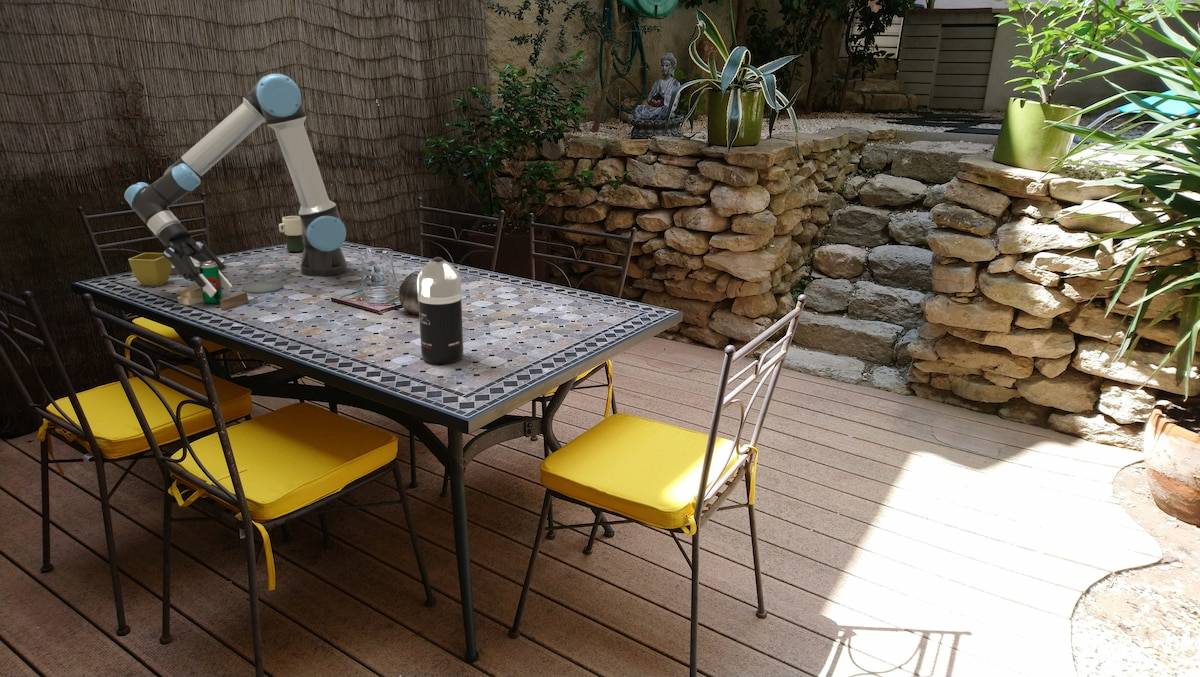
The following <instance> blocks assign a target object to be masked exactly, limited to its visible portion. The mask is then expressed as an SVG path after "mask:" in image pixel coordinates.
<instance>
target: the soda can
mask: <svg viewBox="0 0 1200 677" xmlns="http://www.w3.org/2000/svg"><path fill="white" fill-rule="evenodd" d="M199 264H200V265H199V267H198V269H199V275H200V274H203V275H204V277H205V278H206V279H207V280H208V281H209V282H210V284H211V285H212V286H213V287H214V288H215V289H216V291H217V292H216V293H215V294H214V296H213V297H210V296H209V295H208V294H207V293H206V291H205V290H204V289H203V288H202V294H203V300H204V301H203V303H204V304H206V305H209V306H212V305H214V306H215V305H218V304H220V300H221V299H224V297H223V291H222V290H223V288H222V286H221V283H220V276H219V269H218V265H217V264H216V262H215V261H204V262H200V263H199Z"/></svg>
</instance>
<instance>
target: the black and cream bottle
mask: <svg viewBox="0 0 1200 677" xmlns="http://www.w3.org/2000/svg"><path fill="white" fill-rule="evenodd" d="M416 284H417V285H416V286H417V287H416V288H417V301H418V302H417V303H418V317H419V332H420V333H419V334H420V335H419V336H420V352H421V357H422V359H423V360H424V361H425V362H427V363H430V364H434V365H447V364H452V363H456V362H458V361H459V360H461V359H462V357H463V356H464V335H463V334H464V333H463V330H464V329H463V311H462V310H463V309H462V308H463V307H462V305H463V304H462V299H463V295H462V294H463V293H462V280H461V276H460V274H459V272H458V270H457V269H456V268H455V267H454V266H453V265H452V264H451V263H449V262H448V261H447V260H445V259H443V257H441V256H435V257H434V258H432V259H431V260H430V261H429V262H427V263H426V264H425V265H424V266H423V267H422V268H421V269H420V271H419V273H418V275H417V278H416Z"/></svg>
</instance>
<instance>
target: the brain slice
mask: <svg viewBox="0 0 1200 677" xmlns="http://www.w3.org/2000/svg"><path fill="white" fill-rule="evenodd" d="M216 257H217V258H218V259H219V260H220V261H221V262H222V263H223V265H224V264H225V259H224V258H223V257H221V256H216ZM190 258H191V260H192V262H193V264H194V265H195V267H196V269H197V271H198V273H199V269H198V267H199V265H200V264H199V263H200V262H199V261H197V260H196V259H193V258H192V257H191V256H190ZM175 274H179V275H181V274H180V273H179V271H178V270H177V269H176V268H175V267H174V265H173V264H172V268H171V274H170V275H171V276H176V275H175Z"/></svg>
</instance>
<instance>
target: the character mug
mask: <svg viewBox="0 0 1200 677" xmlns="http://www.w3.org/2000/svg"><path fill="white" fill-rule="evenodd" d="M281 222H282V223H279V224H278V231H279V233H283V234H284V235H286V236H287V238H286V251H289V252H291V253H293V252H304V245H303V236H302V226H301V219H300V216H299V215H288V216H283V217H282V218H281Z"/></svg>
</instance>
